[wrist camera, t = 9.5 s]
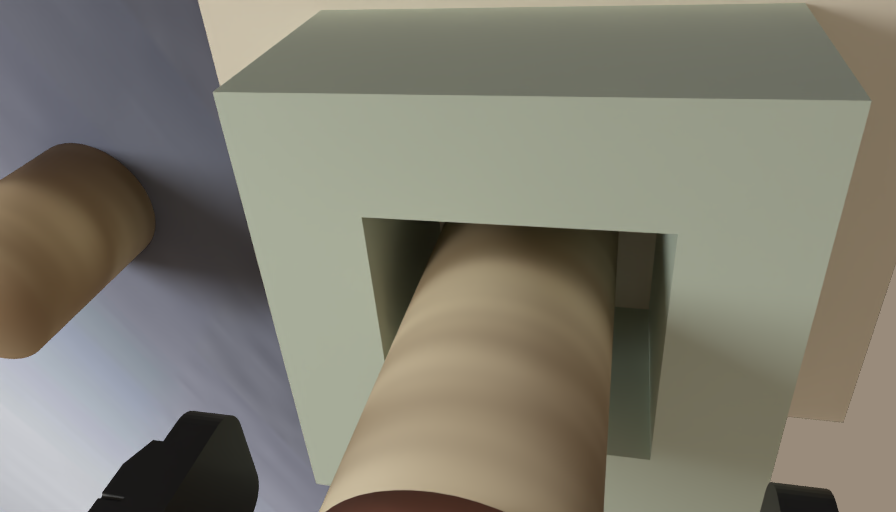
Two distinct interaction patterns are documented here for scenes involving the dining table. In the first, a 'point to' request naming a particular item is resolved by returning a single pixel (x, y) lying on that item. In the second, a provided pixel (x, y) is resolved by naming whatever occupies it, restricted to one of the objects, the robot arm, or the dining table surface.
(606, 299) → the tall dowel
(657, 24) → the socket block
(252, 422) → the dining table surface
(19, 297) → the short dowel
